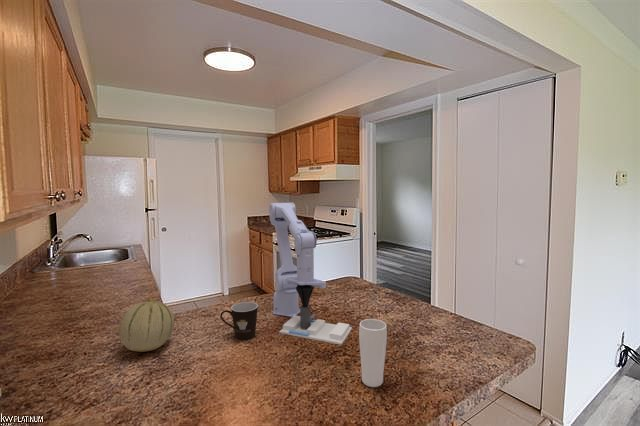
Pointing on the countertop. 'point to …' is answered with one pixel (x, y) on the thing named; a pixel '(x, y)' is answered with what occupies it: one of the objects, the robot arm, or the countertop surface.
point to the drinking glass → (372, 351)
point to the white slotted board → (317, 330)
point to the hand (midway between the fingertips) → (305, 306)
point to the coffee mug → (243, 320)
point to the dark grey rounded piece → (305, 317)
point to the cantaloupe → (146, 326)
